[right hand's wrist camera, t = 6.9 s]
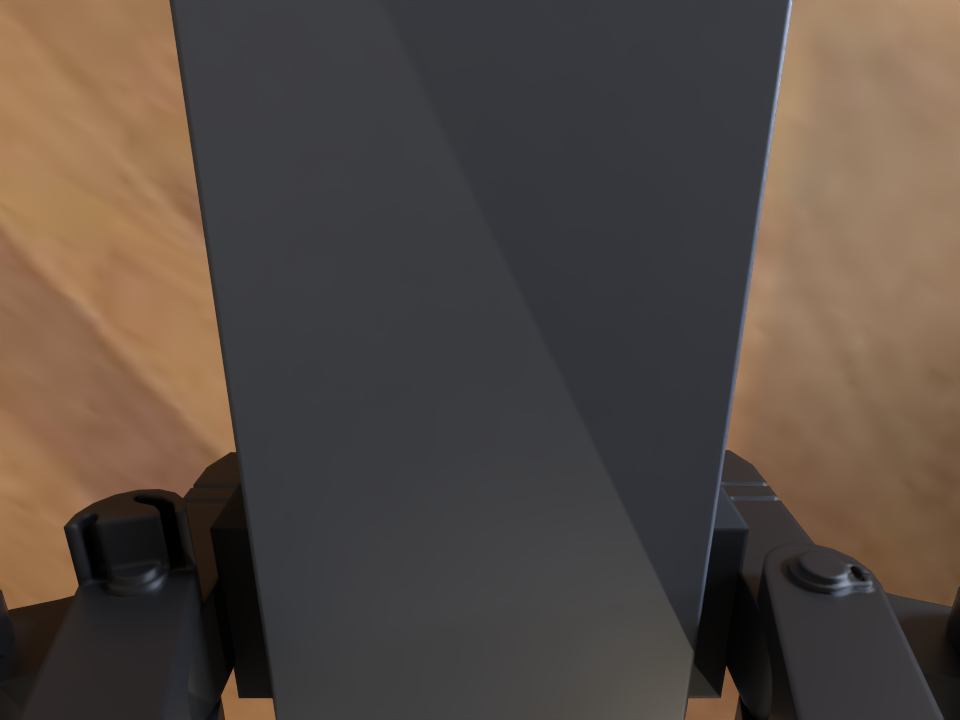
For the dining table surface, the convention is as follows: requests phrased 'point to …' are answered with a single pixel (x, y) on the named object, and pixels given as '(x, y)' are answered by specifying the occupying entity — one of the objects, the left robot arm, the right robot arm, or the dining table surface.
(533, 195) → the bar
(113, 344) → the dining table surface
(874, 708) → the right robot arm
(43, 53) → the dining table surface
